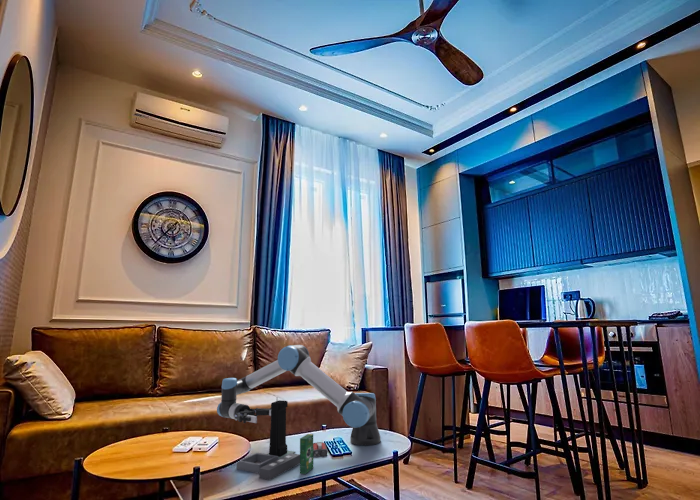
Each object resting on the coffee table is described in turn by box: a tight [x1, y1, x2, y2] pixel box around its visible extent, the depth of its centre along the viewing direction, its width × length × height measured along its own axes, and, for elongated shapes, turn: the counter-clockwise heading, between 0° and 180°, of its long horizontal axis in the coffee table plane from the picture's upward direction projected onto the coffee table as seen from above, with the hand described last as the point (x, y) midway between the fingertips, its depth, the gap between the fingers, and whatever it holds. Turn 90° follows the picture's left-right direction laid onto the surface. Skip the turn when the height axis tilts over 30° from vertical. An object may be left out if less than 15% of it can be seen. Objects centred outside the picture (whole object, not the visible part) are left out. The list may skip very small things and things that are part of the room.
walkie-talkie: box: [313, 441, 328, 458], centre depth 175 cm, size 9×4×20 cm
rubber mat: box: [267, 449, 296, 459], centre depth 175 cm, size 10×12×1 cm
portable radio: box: [268, 396, 289, 457], centre depth 178 cm, size 8×6×25 cm
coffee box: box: [299, 433, 314, 475], centre depth 157 cm, size 8×3×13 cm, turn 162°
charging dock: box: [236, 452, 300, 481], centre depth 160 cm, size 20×20×4 cm
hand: (267, 416), depth 183 cm, fingers open, 13 cm apart
